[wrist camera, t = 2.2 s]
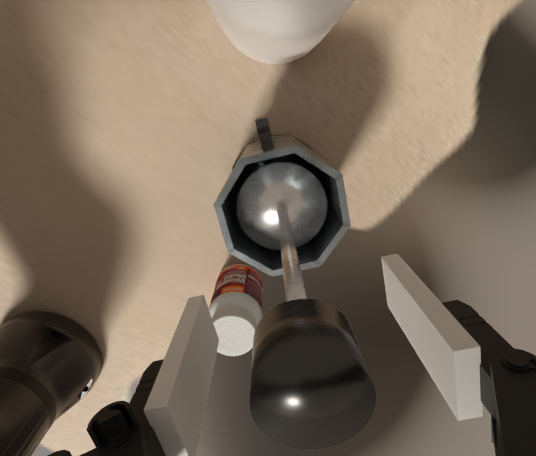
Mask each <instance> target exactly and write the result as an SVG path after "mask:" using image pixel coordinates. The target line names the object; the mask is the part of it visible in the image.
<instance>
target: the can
mask: <svg viewBox="0 0 536 456" xmlns="http://www.w3.org/2000/svg"><path fill="white" fill-rule="evenodd" d="M206 2H207V4H208V5H209V7H210V9H211V11H212V12H213V14H214V16H215V18H216V19H217V21H218V23H219V25H220V27H221V28H222V30H223V32H224V33H225V34H226V36H227V37H228V38H229V40H230V41H231V42H232V44H233V45H234V46H235V48H237V49H238V50H240V51H241V52H242V53H244V54H245V55H247V56H248V57H249V58H251V59H254V60H257V61H260V62H264V63H267V64H280V63H289V62H291V61H294V60H296V59H298V58H301V57H303V56H305V55H306V54H308V53H309V52H310V51H311V50H312V49H313V48H314V47H316V46H317V45H318V44H319V43H320V42H321V41H322V40H323V38H324V37H325V36H326V35H327V34H328V32H329V31H330V30H331V29H332V28H333V26H334V25H335V24H336V23H337V22H338V20H339V19H340V18H341V17H342V16H343V14H344V13H345V12H346V11H347V10H348V9H349V7H350V6H351V5H352V4H353V2H354V0H206Z"/></svg>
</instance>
